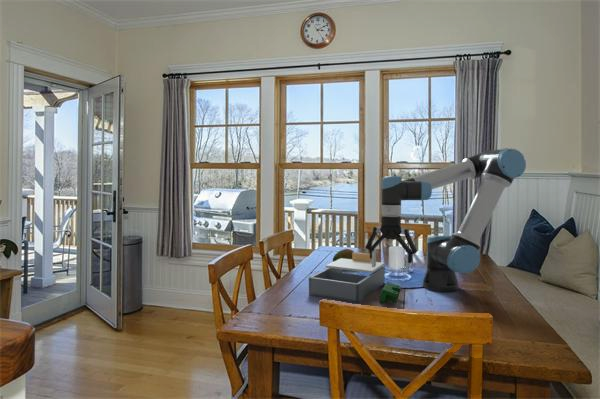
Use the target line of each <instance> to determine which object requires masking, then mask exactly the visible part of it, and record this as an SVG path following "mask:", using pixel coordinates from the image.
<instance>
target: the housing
mask: <svg viewBox="0 0 600 399" xmlns="http://www.w3.org/2000/svg"><path fill="white" fill-rule="evenodd" d="M385 269H386V267H385V266H382V267H381V268H379V269H378V270H376V271H375V272H373V273H369V275H361V274H352V273H346V272H344V270H342V269H333V268H325V269H324V270H321V271H319V272H317V273H315V274H313V275H312V276H309V277H308V296H312V297H316V298H317V297H318V298H324V299H329V300H337V301H341V302H347V303H348V302H349V303H355V304H360V302H362V301H363V300H365V299H366V298H367V297H368V296H370V295H372V293H374V292H375V291H376V290H377V289H379V288H380V287H381V286H382V285H384V284H385V283H384V282H386V280H385V273H386V272H385ZM383 283H384V284H383Z"/></svg>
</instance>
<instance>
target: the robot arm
mask: <svg viewBox="0 0 600 399" xmlns="http://www.w3.org/2000/svg"><path fill="white" fill-rule="evenodd" d="M526 163H527V161H526V159H525V156H524V155H523V153H522V152H521V151H520V150H518V149H516V148H508V147H507V148H500V149H491V150H486V151H483V152H480V153H476V154H475V155H472V156H469V157H466V158H464V159H462V161H460V162H458V163H454V164H451V165H448V166H445V167H441V168H438V169H435V170H432V171H430V172H425V173H422V174H420V175H417V176H412V177H410V178H405V179H402V177H401V176H384V177H382V179H381V187H380V189H381V217H380V219H381V220H380V222H381V223H380V224H381V225H380V227H379V226H377V225H376V226H374V227H373V228H372V233H371V235H370V237H369V239H368V241H367V243H366V245H365V250H368V251H369V254H370V259H371V261H372V267H373V268H374V267H375V266H376V262H377V250H375V249H376V248H377V247H378V246H379V245H380V244H381V243H382V241H383V240H384V239H386V240H393V241H394V240H396V241H397V242H398V244H400V246H401V247H402V248H403V250H404V251H405V252H406V253H407V254H405V258H406V268H405V272H406V273H408V272H409V271H410V267H409V263H410V264H411V263H413V255H415V254H417V253H418V249H417V247H416V245H415V243H414V241H413V239H412V237H411V234H410V229H409V228H404V229H403V228H402V226H401V225H402V217H401V215H402V201H427V200H429V199H431V197H432V195H433V194H432V193H433V190H435V189H439V188H441V187H444V186H448V185H451V184H454V183H457V182H461V181H464V180H475V179H479V178H481V179H482V182H481V184H480V185H479V187H478V190H477V192H476V194H475V196H474V197H473V200H472V202H471V205H470V206H469V207H468V210H467V212H466V214H465V217H464V218H463V220H462V222H461V225H460V227H459V229H458V230H457V232H453V233H452V234H451V235H429V236H427V237H428V238H427V239H426V270H425V274H424V277H423V279H422V287H423V288H424V289H426V290H430V291H433V292H441V293H442V292H443V293H448V292H449V293H451V292H455V291H459V290H460V283H459V279H458V276H457V273H459V274H462V275H463V274H469V273H471V272H473V271H475V270H476V269H477V267H478V266H479V265H480V261H481V256H480V255H481V254H480V252H479V251H480V249H481V244H480V239H481V237H482V235H483V233H484V231H485V229H486V227H487V225H488V223H489V221H490V219H491V218H492V217H491V216H492V214H493V213H494V211H495V209H496V207H497V204H498V203H499V201H500V199H501V196H502V195H503V192H504V190H505V189H506V188H509V187H511V185H512V183H513V182H514V179H515V178H519V177H521V176H522V175H523V174H524V172H525V171H526V166H527V164H526ZM379 232H380V233H381V235H380V236H379V238H378V239H377V240H376V241H375V238H376V237H377V234H378V233H379ZM401 233H402V234H403V235H404V237H405V239H406V242H407V243H408V244H407V243H406V242H405V240H404V239H403V237H402V236H401ZM374 241H375V242H374ZM373 242H374V243H373Z"/></svg>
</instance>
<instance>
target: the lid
mask: <svg viewBox="0 0 600 399" xmlns="http://www.w3.org/2000/svg"><path fill="white" fill-rule="evenodd" d="M381 267H385V262H381V261H380V262H379V261H376V266H375V267H374V268H373V267H372V259H370V253H365V252H364V253H363V252H355V251H354V252H353V253H352V259H343V258H340V259H338V260H336V261H334V262H333V261H331V262H330V263H327V264H326V265H325V269H327V268H333V269H342V270H343V271H350V272H351V271H352V272H359V273H367V274H372V273H374V272H375V271H377V270H378V269H380V268H381Z"/></svg>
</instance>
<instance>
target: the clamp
mask: <svg viewBox="0 0 600 399" xmlns="http://www.w3.org/2000/svg"><path fill="white" fill-rule="evenodd" d="M401 289H402V286H400V285H397V284H395V283H392V282H390V281H389V282H388V281H386V283H385V285H384V286H383V287H382V289H381V293H380V297H379V300H378V302H379V303H382V304H385V303H386V301H387V302H390V303H393V304H396V303H397V301H398V299H399V296H400V292H401Z"/></svg>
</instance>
